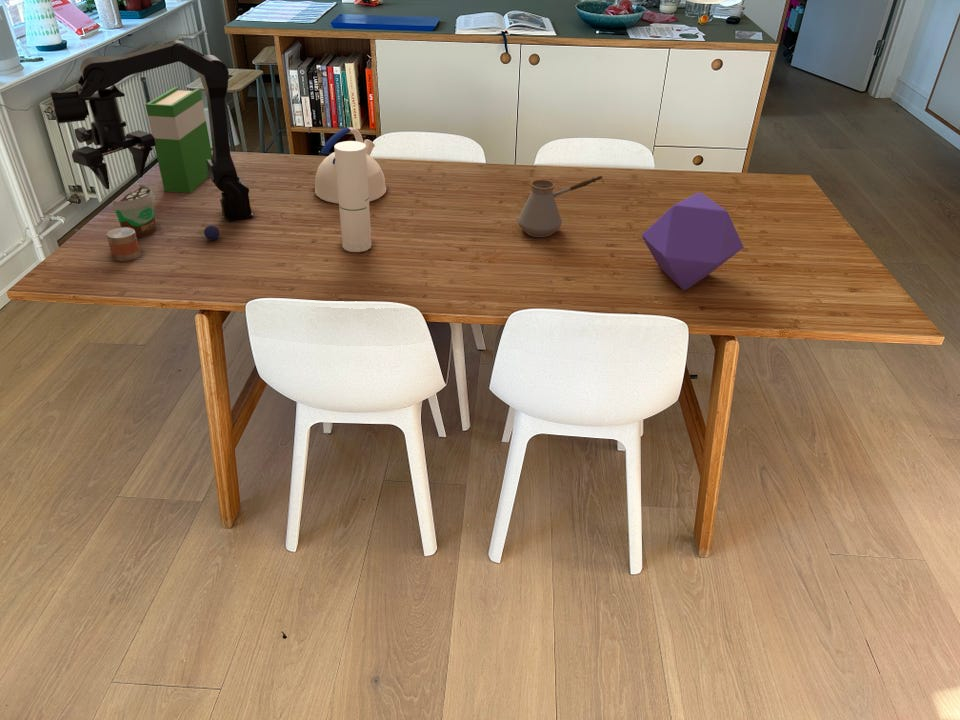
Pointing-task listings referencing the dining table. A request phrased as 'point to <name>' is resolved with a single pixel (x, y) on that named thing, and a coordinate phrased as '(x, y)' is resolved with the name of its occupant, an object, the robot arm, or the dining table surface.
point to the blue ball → (211, 232)
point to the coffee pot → (544, 208)
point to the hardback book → (180, 138)
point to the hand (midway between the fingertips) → (124, 182)
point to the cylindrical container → (353, 195)
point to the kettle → (328, 177)
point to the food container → (137, 211)
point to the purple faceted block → (692, 240)
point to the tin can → (123, 244)
